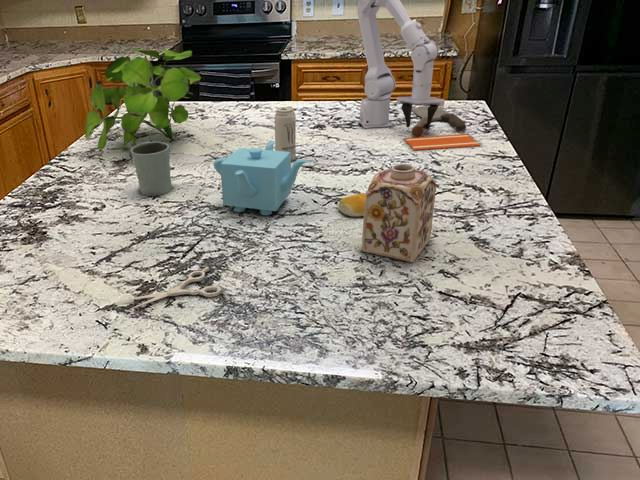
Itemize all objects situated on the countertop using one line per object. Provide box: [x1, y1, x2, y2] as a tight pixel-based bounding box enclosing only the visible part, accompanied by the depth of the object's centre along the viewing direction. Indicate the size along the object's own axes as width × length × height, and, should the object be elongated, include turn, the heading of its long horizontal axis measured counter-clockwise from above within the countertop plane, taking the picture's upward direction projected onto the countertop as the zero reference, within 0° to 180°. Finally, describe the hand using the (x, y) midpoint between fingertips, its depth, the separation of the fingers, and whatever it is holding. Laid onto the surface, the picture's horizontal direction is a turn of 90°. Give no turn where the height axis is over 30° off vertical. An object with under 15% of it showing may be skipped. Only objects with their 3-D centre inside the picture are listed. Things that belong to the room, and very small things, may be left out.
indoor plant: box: [84, 48, 202, 151], centre depth 196 cm, size 44×42×30 cm
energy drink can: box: [274, 106, 297, 162], centre depth 178 cm, size 6×6×15 cm
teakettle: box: [213, 140, 310, 216], centre depth 150 cm, size 19×19×15 cm
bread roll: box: [338, 192, 366, 218], centre depth 148 cm, size 8×9×4 cm
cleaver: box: [411, 105, 467, 132], centre depth 207 cm, size 29×10×2 cm, turn 9°
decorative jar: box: [361, 163, 437, 263], centre depth 127 cm, size 12×12×18 cm
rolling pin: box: [411, 117, 428, 138], centre depth 196 cm, size 11×4×4 cm
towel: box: [403, 133, 481, 152], centre depth 187 cm, size 20×11×1 cm, turn 93°
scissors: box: [121, 266, 222, 311], centre depth 119 cm, size 11×1×20 cm
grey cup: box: [130, 141, 172, 197], centre depth 164 cm, size 10×10×12 cm
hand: (417, 127), depth 197 cm, fingers open, 6 cm apart
